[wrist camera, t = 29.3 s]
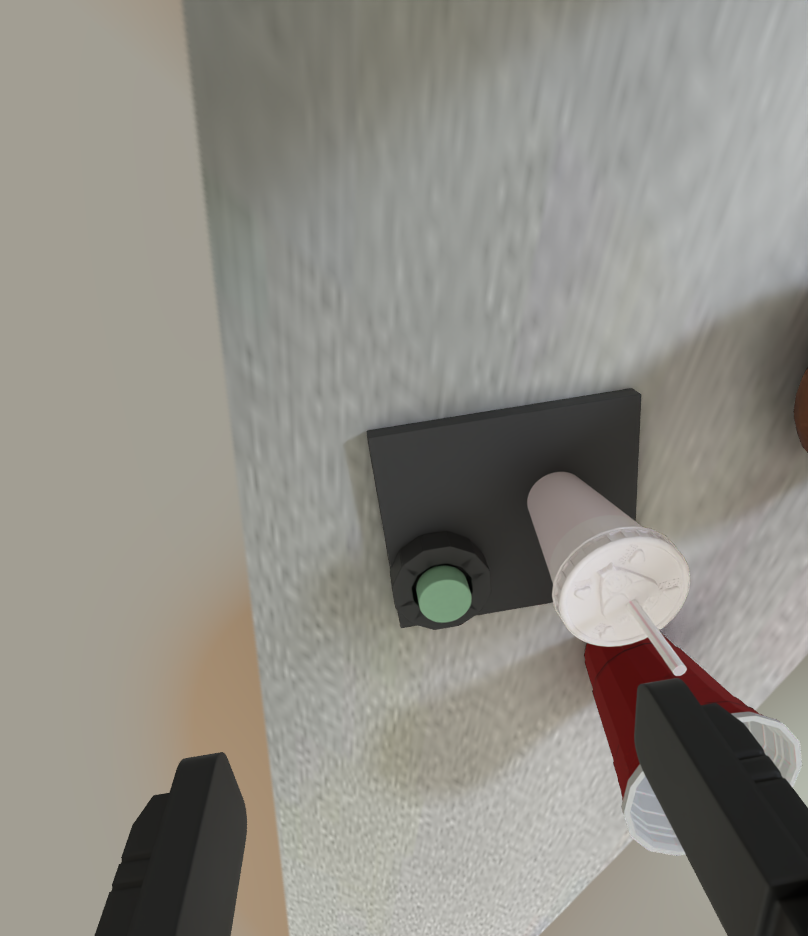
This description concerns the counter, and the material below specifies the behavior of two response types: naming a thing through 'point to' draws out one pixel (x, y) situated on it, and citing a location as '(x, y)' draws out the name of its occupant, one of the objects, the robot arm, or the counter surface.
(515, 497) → the scale
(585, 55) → the counter surface
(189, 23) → the counter surface
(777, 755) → the plastic cup
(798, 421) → the butternut squash
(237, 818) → the robot arm
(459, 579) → the button
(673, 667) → the smoothie
